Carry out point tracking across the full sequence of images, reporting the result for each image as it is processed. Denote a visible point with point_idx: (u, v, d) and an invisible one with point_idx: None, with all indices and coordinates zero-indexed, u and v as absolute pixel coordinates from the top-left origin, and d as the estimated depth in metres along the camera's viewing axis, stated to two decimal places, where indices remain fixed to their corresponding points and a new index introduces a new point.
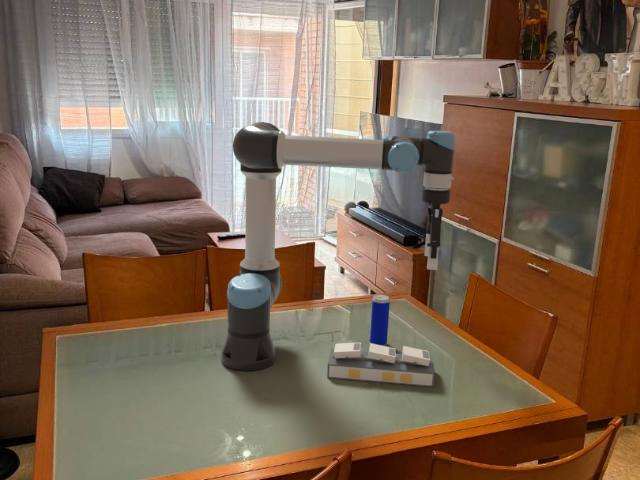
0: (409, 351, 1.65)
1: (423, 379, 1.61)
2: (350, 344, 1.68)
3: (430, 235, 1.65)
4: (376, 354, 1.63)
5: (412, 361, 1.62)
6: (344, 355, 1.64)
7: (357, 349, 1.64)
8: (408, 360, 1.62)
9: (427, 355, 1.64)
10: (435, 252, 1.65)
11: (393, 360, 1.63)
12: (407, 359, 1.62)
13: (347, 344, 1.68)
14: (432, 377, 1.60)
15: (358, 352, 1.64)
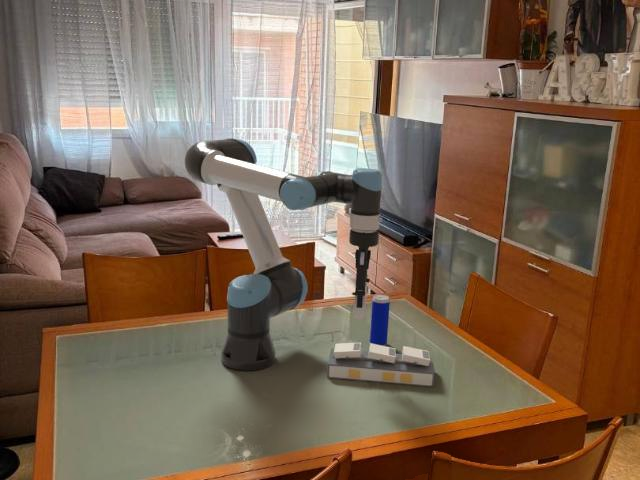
0: (409, 351, 1.65)
1: (423, 379, 1.61)
2: (350, 344, 1.68)
3: None
4: (376, 354, 1.63)
5: (412, 361, 1.62)
6: (344, 355, 1.64)
7: (357, 349, 1.64)
8: (408, 360, 1.62)
9: (427, 355, 1.64)
10: (361, 301, 1.57)
11: (393, 360, 1.63)
12: (407, 359, 1.62)
13: (347, 344, 1.68)
14: (432, 377, 1.60)
15: (358, 352, 1.64)
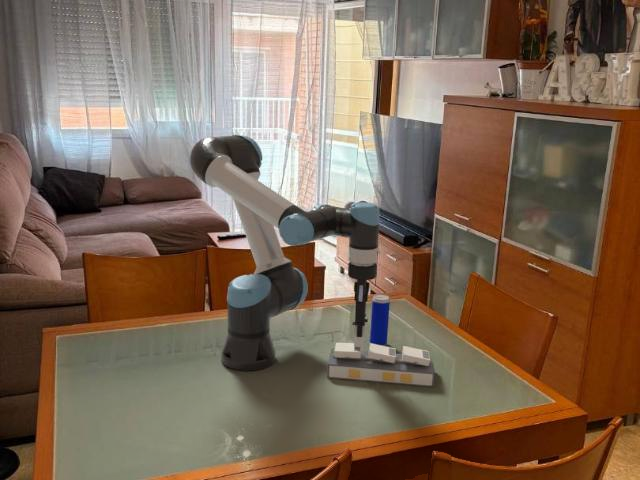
0: (409, 351, 1.65)
1: (423, 379, 1.61)
2: (351, 344, 1.68)
3: None
4: (376, 354, 1.63)
5: (412, 361, 1.62)
6: (344, 355, 1.64)
7: (358, 350, 1.64)
8: (408, 360, 1.62)
9: (427, 355, 1.64)
10: (361, 331, 1.63)
11: (393, 360, 1.63)
12: (407, 359, 1.62)
13: (348, 344, 1.68)
14: (432, 377, 1.60)
15: (359, 353, 1.64)
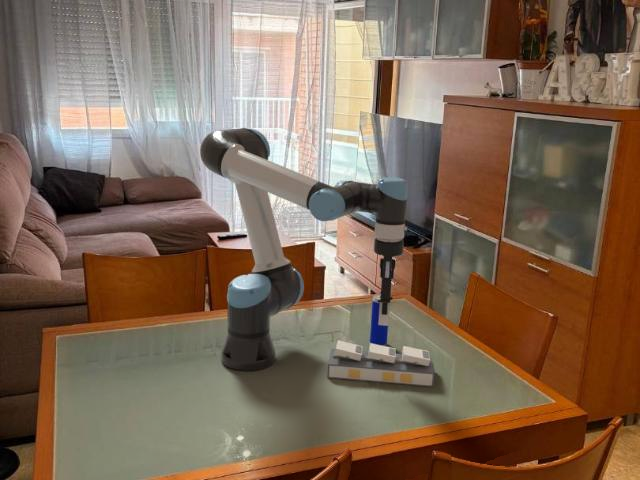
0: (409, 351, 1.65)
1: (423, 379, 1.61)
2: (352, 345, 1.68)
3: None
4: (376, 354, 1.63)
5: (412, 361, 1.62)
6: (345, 354, 1.64)
7: (359, 352, 1.64)
8: (408, 360, 1.62)
9: (427, 355, 1.64)
10: (386, 308, 1.61)
11: (393, 360, 1.63)
12: (407, 359, 1.62)
13: (349, 344, 1.68)
14: (432, 377, 1.60)
15: (359, 355, 1.64)
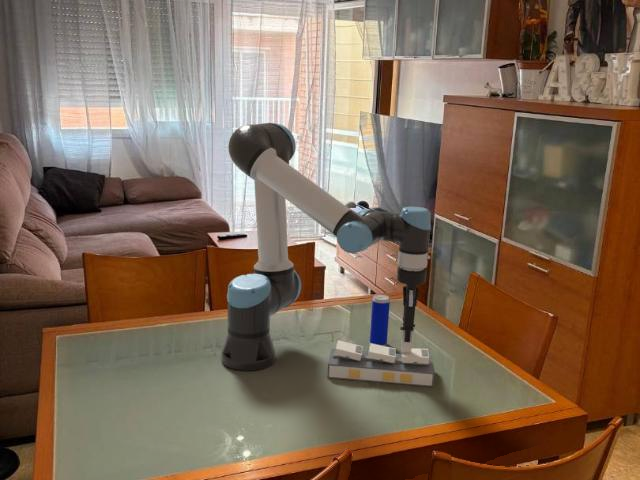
0: None
1: (423, 379, 1.61)
2: (352, 345, 1.68)
3: None
4: (376, 354, 1.63)
5: (412, 362, 1.63)
6: (345, 354, 1.64)
7: (359, 352, 1.64)
8: (407, 361, 1.63)
9: (426, 353, 1.64)
10: (409, 336, 1.62)
11: (393, 360, 1.63)
12: (407, 360, 1.63)
13: (349, 344, 1.68)
14: (432, 377, 1.60)
15: (359, 355, 1.64)
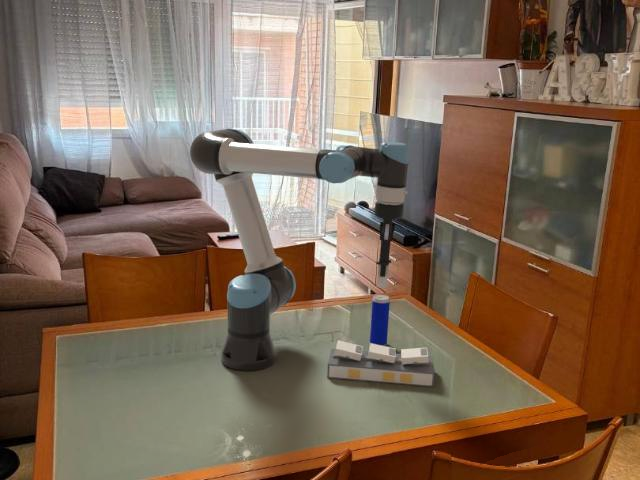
0: (407, 353, 1.65)
1: (423, 379, 1.61)
2: (352, 345, 1.68)
3: None
4: (376, 354, 1.63)
5: (412, 362, 1.63)
6: (345, 354, 1.64)
7: (359, 352, 1.64)
8: (407, 362, 1.63)
9: (425, 352, 1.64)
10: (384, 270, 1.65)
11: (393, 360, 1.63)
12: (406, 361, 1.63)
13: (349, 344, 1.68)
14: (432, 377, 1.60)
15: (359, 355, 1.64)
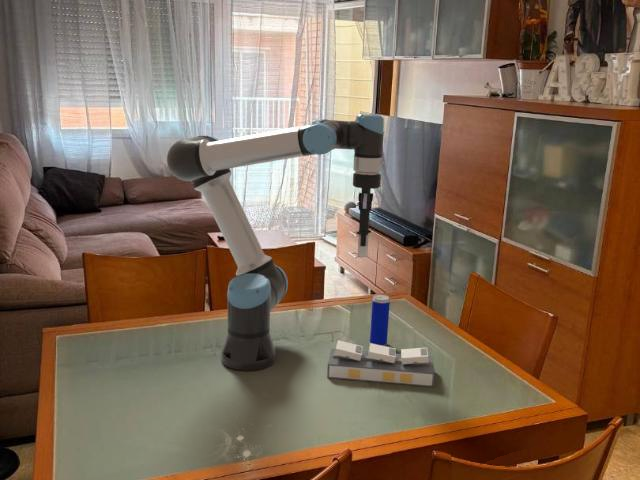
0: (407, 353, 1.65)
1: (423, 379, 1.61)
2: (352, 345, 1.68)
3: None
4: (376, 354, 1.63)
5: (412, 362, 1.63)
6: (345, 354, 1.64)
7: (359, 352, 1.64)
8: (407, 362, 1.63)
9: (425, 352, 1.64)
10: (364, 240, 1.69)
11: (393, 360, 1.63)
12: (406, 361, 1.63)
13: (349, 344, 1.68)
14: (432, 377, 1.60)
15: (359, 355, 1.64)
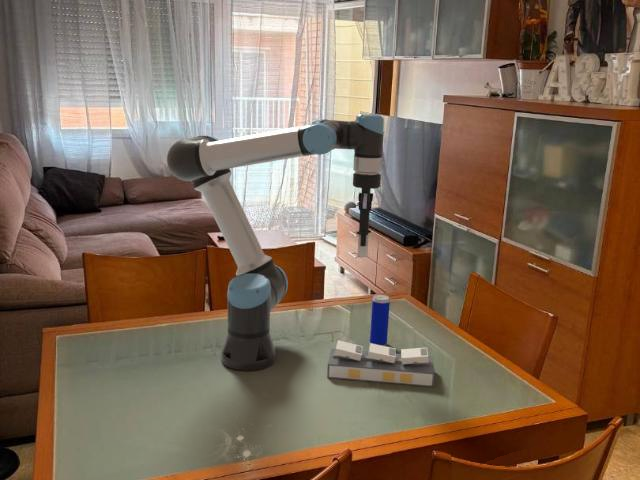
0: (407, 353, 1.65)
1: (423, 379, 1.61)
2: (352, 345, 1.68)
3: None
4: (376, 354, 1.63)
5: (412, 362, 1.63)
6: (345, 354, 1.64)
7: (359, 352, 1.64)
8: (407, 362, 1.63)
9: (425, 352, 1.64)
10: (364, 240, 1.69)
11: (393, 360, 1.63)
12: (406, 361, 1.63)
13: (349, 344, 1.68)
14: (432, 377, 1.60)
15: (359, 355, 1.64)
